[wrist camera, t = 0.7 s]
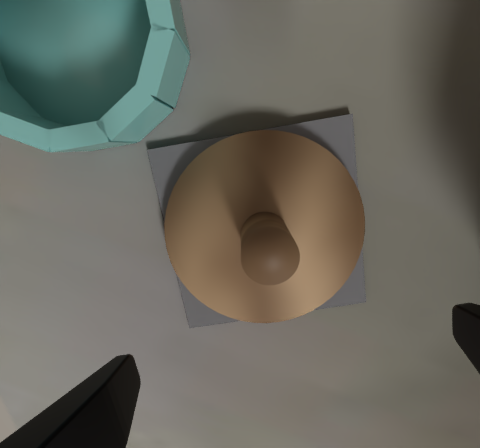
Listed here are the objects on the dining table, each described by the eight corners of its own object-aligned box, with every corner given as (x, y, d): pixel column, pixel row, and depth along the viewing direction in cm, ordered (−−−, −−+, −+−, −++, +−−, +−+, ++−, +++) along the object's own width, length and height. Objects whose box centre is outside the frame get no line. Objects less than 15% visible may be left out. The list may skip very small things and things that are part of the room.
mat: (350, 114, 18) (352, 113, 17) (363, 299, 20) (366, 302, 20) (149, 149, 18) (147, 149, 18) (190, 324, 21) (189, 328, 21)
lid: (352, 113, 17) (393, 101, 12) (366, 302, 20) (403, 349, 15) (147, 149, 18) (113, 150, 13) (189, 327, 21) (174, 380, 16)
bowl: (161, -96, 15) (134, -179, 11) (204, 131, 18) (194, 126, 14) (-45, -51, 16) (-140, -116, 12) (26, 162, 18) (-31, 166, 14)
